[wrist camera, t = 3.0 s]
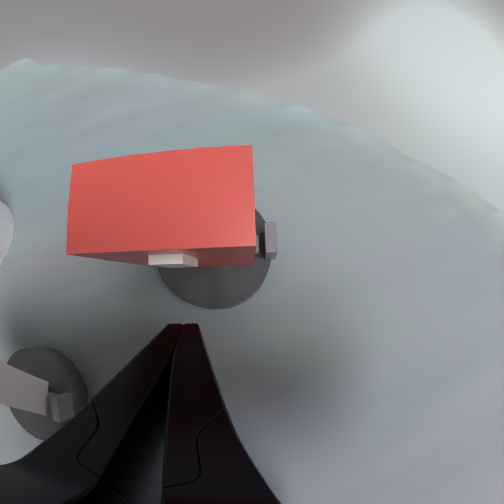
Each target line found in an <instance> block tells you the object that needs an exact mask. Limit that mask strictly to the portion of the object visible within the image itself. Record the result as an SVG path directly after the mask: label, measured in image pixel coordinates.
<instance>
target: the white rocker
mask: <svg viewBox="0 0 504 504" xmlns="http://www.w3.org/2000/svg"><path fill="white" fill-rule="evenodd" d="M48 384H49V382H47V381H45V380H42V379H40V378H37V377H35V376H33V375H30V374H28V373H25V372H23V371H21V370H19V369H16V368H14V367H12V366H10V365H8V364H6V363H3V362H1V361H0V404H3V405H7V406H10V407H14V408H17V409H21V410H25V411H29V412H33V413H37V414H41V415H46V409H47V407H51V402H50V397H52V396H55V395H57V394H56V393H52V392H48Z"/></svg>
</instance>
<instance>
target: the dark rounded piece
mask: <svg viewBox="0 0 504 504" xmlns="http://www.w3.org/2000/svg"><path fill="white" fill-rule="evenodd" d="M255 226H256V235H258V239H259V254H255V257H254V263H253V265H245V266H219V267H192V268H163V267H158V268H159V271H160V274H161V276H162V278H163V280H164V281H165V283H166V284H167V286H168V287H169V288H170V289H171V290H172V291H173V292H174V293H175V294H176V295H177V296H179V297H180V298H182V299H183V300H185V301H187V302H189V303H191V304H194V305H197V306H200V307H204V308H209V309H225V308H230V307H233V306H236V305H239V304H241V303H242V302H244V301H246V300H247V299H249V298H250V297H251V296H252V295H253V294H254V293H256V291H257V290H258V289H259V288H260V287H261V285H262V283H263V282H264V280H265V277H266V275H267V272H268V269H269V265H270V262H271V259H275V257H276V254H277V241H276V225H275V222H269V223H265V221H264V219H263V217H262V216H261V215H260V214H259V212H258V211H257V210H256V209H255Z"/></svg>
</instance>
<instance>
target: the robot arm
mask: <svg viewBox="0 0 504 504" xmlns="http://www.w3.org/2000/svg"><path fill="white" fill-rule="evenodd" d="M0 504H281V503H280V502H279V500H278V499H277V498H276V496H275V495H274V493H273V492H272V490H271V489H270V488H269V486H268V485H267V483H266V482H265V480H264V479H263V477H262V475H261V474H260V472H259V471H258V469H257V468H256V466H255V465H254V463H253V461H252V460H251V458H250V457H249V455H248V453H247V452H246V450H245V448H244V446H243V444H242V443H241V441H240V439H239V437H238V435H237V433H236V430H235V428H234V426H233V423H232V421H231V418H230V415H229V413H228V411H227V408H226V405H225V402H224V400H223V397H222V394H221V391H220V388H219V385H218V383H217V380H216V377H215V374H214V371H213V368H212V365H211V362H210V359H209V356H208V353H207V350H206V347H205V344H204V341H203V337H202V334H201V331H200V328H199V325H198V324H184V325H182V324H168V325H167V326H166V327H165V328H164V329H163V330H162V331H161V332H160V333H159V334H158V335H157V336H155V337H154V338H153V339H152V340H151V341H150V342H149V343H148V344H147V345H146V346H145V347H144V348H143V349H142V350H141V351H140V352H139V353H138V354H137V355H136V356H135V357H134V358H133V359H132V360H131V361H130V362H129V363H128V364H127V365H126V366H125V367H124V368H123V369H122V370H121V371H120V372H119V373H118V374H117V375H116V376H115V377H114V378H113V379H112V380H111V381H110V382H109V383H108V384H107V385H106V386H105V387H104V388H103V389H102V390H101V391H100V392H99V393H97V394H96V395H95V396H94V397H93V400H90V401H89V402H88V403H87V404H86V405H85V406H84V407H83V408H82V409H81V410H80V411H79V412H78V413H77V414H76V415H75V416H74V417H73V418H71V419H70V420H69V421H68V422H67V423H66V424H64V425H63V426H62V427H61V428H60V429H59V430H57V431H56V432H55V433H54V434H52V435H51V436H50V437H49V438H47V439H46V440H45V441H43V442H42V443H41V444H40V445H38V446H37V447H36V448H35V449H33V450H32V451H31V452H29V453H28V454H27V455H25V456H24V457H22V458H21V459H19V460H17V461H15V462H12V463H8V464H3V465H0Z"/></svg>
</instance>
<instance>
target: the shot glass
mask: <svg viewBox="0 0 504 504" xmlns="http://www.w3.org/2000/svg"><path fill="white" fill-rule="evenodd" d="M13 233H14V220H13V214H12V213H11V211H10V209H9V207H8V206H7V205H5V204H4V203H3V202H1V201H0V265H1V264H2V262H3V261H4V259H5V258H6V256H7V255H8V252H9V249H10V247H11V244H12V241H13Z"/></svg>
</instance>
